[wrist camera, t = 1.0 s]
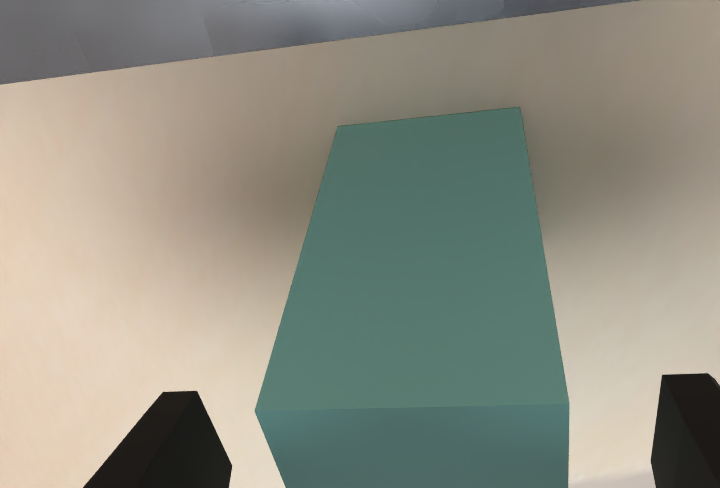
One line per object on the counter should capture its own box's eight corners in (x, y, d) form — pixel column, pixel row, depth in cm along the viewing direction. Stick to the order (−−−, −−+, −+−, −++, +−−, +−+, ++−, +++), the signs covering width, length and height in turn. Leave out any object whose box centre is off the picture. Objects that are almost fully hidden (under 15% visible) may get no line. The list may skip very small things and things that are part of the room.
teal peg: (519, 106, 14) (568, 403, 8) (525, 253, 17) (566, 571, 10) (337, 126, 15) (254, 411, 9) (367, 263, 18) (318, 566, 11)
